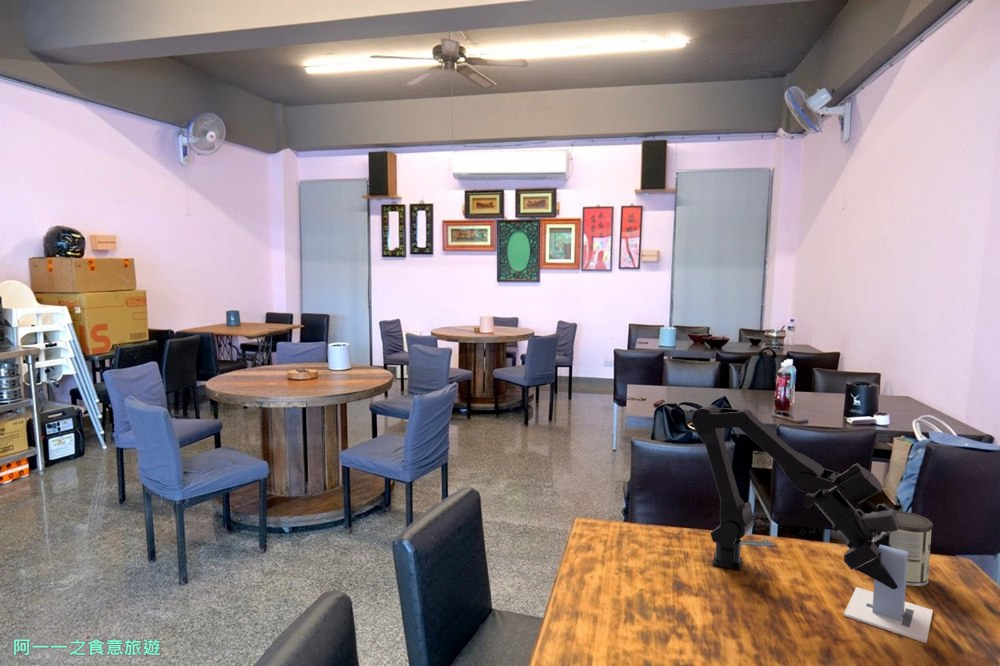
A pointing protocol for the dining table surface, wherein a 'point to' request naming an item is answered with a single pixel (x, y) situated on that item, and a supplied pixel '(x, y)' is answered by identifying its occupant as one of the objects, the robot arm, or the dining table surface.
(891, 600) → the slate blue block
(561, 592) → the dining table surface
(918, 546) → the coffee can
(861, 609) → the letter tile
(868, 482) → the robot arm
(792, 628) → the dining table surface
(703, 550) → the dining table surface
